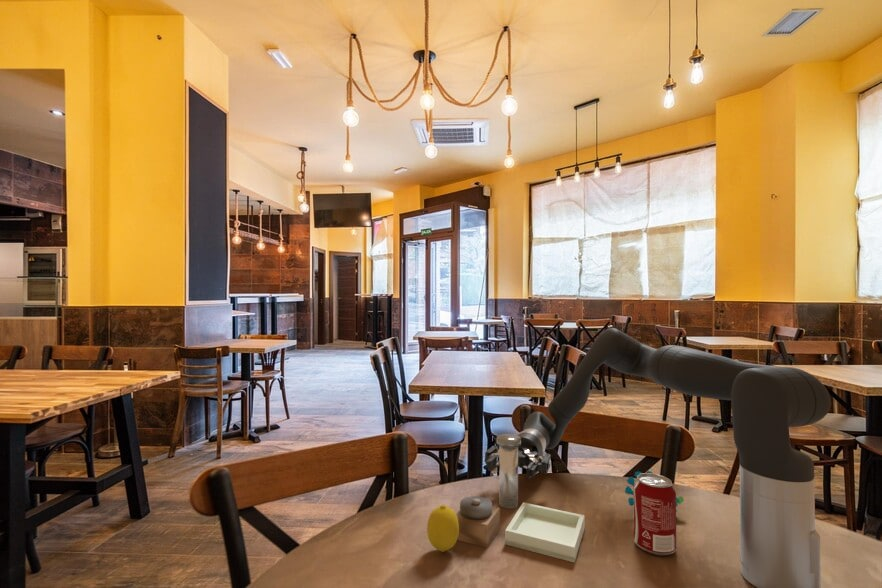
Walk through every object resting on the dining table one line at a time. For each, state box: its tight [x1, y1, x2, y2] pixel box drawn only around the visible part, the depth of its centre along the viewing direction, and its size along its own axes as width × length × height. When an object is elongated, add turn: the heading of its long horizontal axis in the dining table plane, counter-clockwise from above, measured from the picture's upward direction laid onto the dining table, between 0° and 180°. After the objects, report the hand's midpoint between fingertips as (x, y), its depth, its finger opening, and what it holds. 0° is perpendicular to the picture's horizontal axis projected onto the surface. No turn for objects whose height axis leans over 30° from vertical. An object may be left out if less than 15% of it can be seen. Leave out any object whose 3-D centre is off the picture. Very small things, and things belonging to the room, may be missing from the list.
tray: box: [504, 502, 586, 563], centre depth 80 cm, size 12×12×2 cm
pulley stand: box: [454, 495, 501, 549], centre depth 80 cm, size 7×7×6 cm
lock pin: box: [496, 433, 521, 510], centre depth 92 cm, size 5×5×14 cm
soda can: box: [633, 472, 677, 557], centre depth 76 cm, size 7×7×12 cm
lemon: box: [426, 504, 459, 553], centre depth 75 cm, size 6×6×8 cm
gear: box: [624, 470, 684, 512], centre depth 90 cm, size 11×6×10 cm
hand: (508, 470), depth 92 cm, fingers open, 8 cm apart
